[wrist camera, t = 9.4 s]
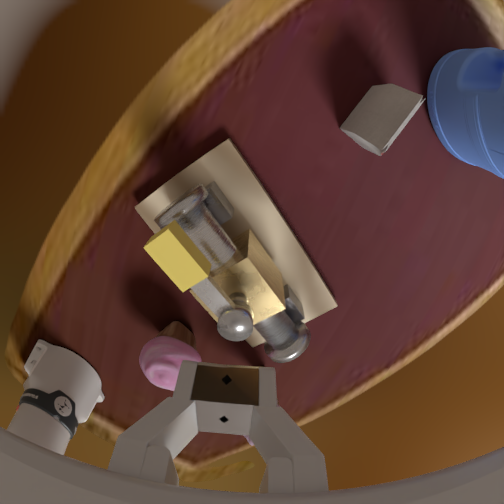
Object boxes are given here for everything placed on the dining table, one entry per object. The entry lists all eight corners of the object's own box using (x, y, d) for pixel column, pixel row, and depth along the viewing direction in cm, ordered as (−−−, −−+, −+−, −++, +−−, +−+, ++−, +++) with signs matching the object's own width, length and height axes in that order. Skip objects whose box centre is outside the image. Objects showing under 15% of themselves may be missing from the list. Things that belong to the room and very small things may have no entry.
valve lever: (260, 318, 29) (260, 331, 27) (232, 332, 30) (231, 345, 28) (176, 218, 25) (170, 227, 23) (149, 238, 26) (141, 248, 24)
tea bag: (339, 128, 33) (367, 137, 24) (372, 85, 30) (409, 82, 21) (362, 147, 34) (396, 164, 25) (394, 106, 31) (437, 110, 22)
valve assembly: (252, 340, 47) (250, 403, 36) (138, 203, 37) (95, 244, 27) (335, 299, 43) (355, 360, 32) (229, 137, 34) (215, 153, 23)
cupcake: (172, 301, 44) (154, 348, 35) (218, 334, 46) (210, 384, 37) (142, 332, 47) (122, 377, 38) (184, 361, 49) (173, 408, 40)
